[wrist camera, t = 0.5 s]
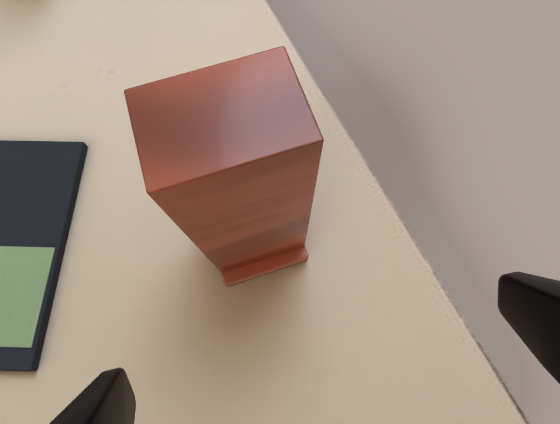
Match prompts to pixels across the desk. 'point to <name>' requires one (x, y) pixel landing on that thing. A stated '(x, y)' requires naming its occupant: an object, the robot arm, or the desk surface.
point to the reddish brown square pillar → (232, 160)
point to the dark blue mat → (33, 240)
